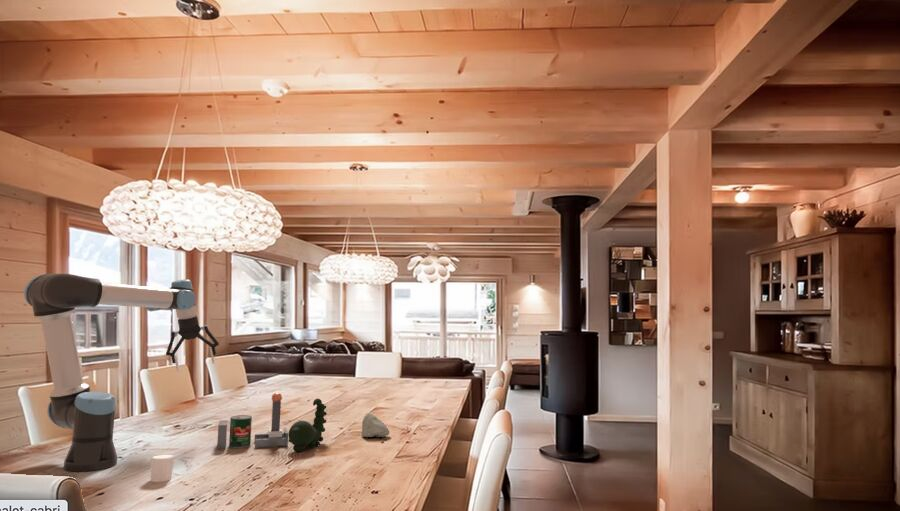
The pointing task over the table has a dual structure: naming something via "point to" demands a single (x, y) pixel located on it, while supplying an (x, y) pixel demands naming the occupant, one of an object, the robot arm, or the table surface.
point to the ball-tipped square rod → (275, 417)
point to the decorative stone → (373, 427)
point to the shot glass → (161, 467)
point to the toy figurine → (308, 430)
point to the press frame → (260, 439)
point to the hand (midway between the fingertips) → (196, 366)
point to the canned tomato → (240, 431)
